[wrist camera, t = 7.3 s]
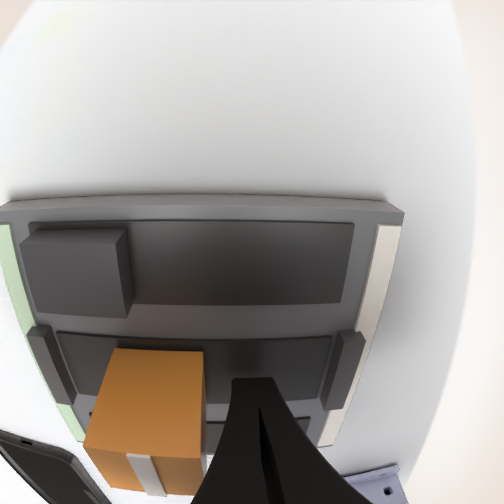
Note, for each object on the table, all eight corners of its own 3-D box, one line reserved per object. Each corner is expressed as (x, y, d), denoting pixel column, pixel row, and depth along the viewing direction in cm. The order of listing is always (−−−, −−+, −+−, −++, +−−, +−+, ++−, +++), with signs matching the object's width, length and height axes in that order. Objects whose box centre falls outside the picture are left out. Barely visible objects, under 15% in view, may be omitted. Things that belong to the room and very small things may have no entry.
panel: (387, 201, 10) (425, 226, 8) (326, 428, 15) (337, 464, 13) (9, 201, 9) (-31, 225, 7) (82, 424, 14) (72, 459, 11)
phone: (56, 510, 20) (-19, 431, 13) (58, 502, 21) (-13, 421, 14) (127, 527, 20) (71, 460, 14) (128, 518, 21) (75, 447, 15)
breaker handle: (203, 351, 10) (200, 461, 6) (206, 402, 11) (207, 498, 7) (114, 347, 10) (81, 449, 6) (128, 398, 11) (110, 489, 7)
